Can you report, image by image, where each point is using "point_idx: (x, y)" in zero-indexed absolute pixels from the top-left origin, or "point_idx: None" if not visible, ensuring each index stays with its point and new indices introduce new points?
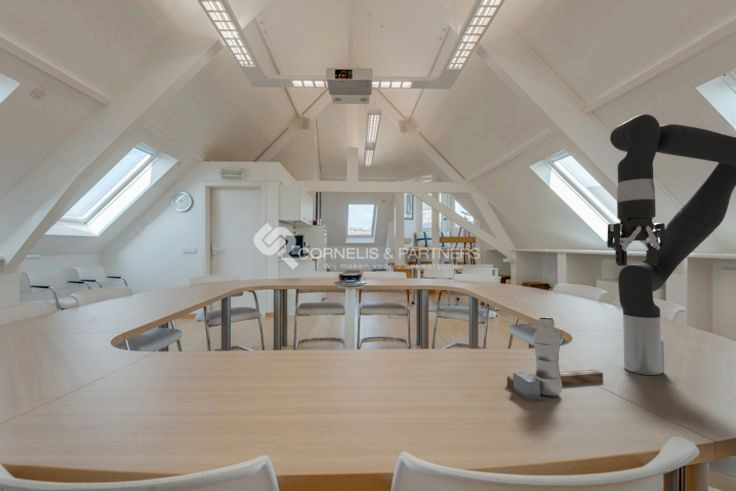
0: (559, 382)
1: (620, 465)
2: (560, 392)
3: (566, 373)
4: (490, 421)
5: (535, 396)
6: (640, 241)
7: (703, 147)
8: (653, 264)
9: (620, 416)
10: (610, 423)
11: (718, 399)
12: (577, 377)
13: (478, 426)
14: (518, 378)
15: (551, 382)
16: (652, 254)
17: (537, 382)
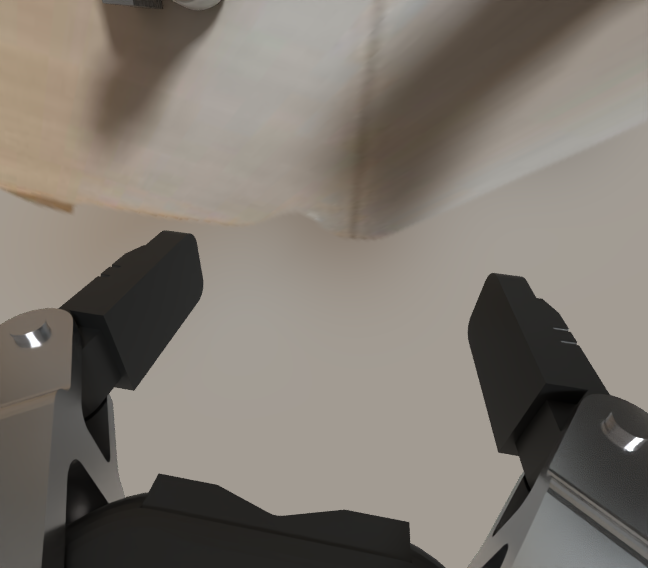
0: (200, 4)
1: None
2: (215, 4)
3: None
4: (36, 77)
5: (144, 7)
6: (544, 501)
7: None
8: (472, 323)
9: (284, 134)
10: (245, 151)
11: (576, 133)
12: None
13: (14, 90)
14: None
15: (175, 2)
16: (496, 392)
17: (129, 4)
